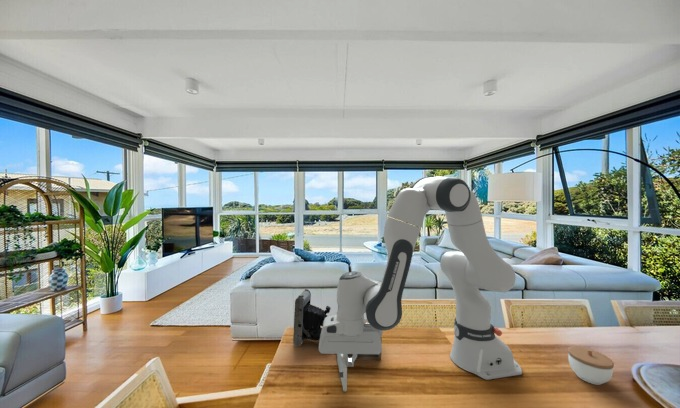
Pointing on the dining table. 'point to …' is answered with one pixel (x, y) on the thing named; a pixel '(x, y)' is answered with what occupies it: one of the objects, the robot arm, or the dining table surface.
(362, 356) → the case
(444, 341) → the dining table surface
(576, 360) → the lidded jar
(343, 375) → the door
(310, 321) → the vintage camera
